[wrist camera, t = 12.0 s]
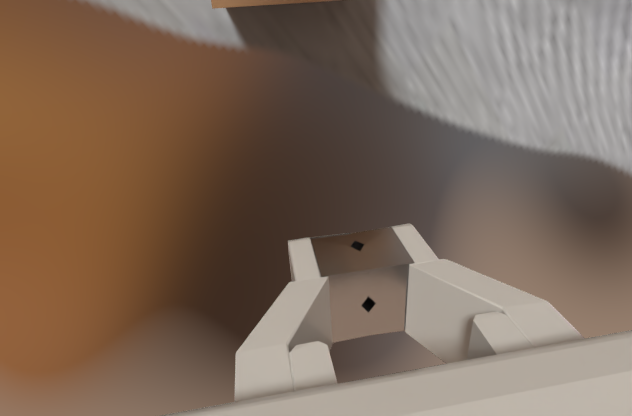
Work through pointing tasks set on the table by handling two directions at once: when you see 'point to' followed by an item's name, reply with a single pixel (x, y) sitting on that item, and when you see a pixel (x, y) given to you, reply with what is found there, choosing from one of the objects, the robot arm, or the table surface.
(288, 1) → the tray
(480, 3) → the table surface
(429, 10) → the table surface
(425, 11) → the table surface
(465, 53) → the table surface
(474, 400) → the robot arm
